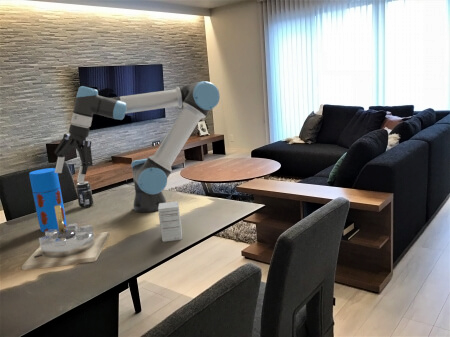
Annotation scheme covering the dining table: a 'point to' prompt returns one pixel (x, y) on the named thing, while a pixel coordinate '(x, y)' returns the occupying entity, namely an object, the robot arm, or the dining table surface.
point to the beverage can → (84, 194)
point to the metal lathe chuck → (66, 238)
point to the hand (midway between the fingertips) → (68, 177)
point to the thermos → (47, 197)
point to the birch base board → (85, 256)
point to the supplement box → (170, 221)
